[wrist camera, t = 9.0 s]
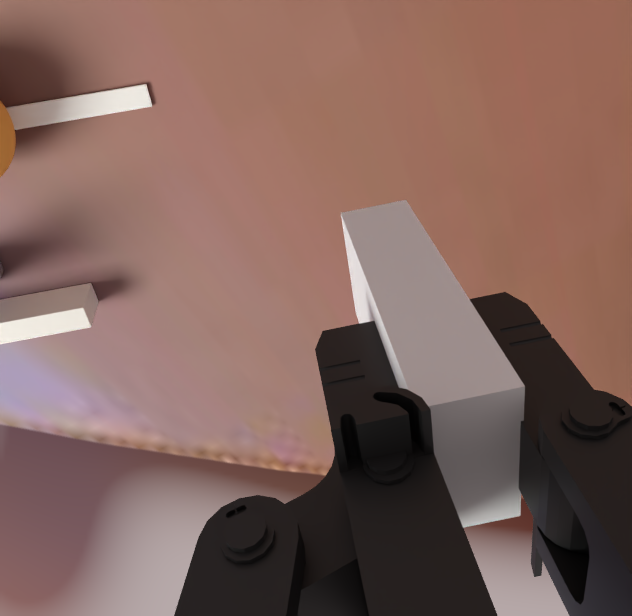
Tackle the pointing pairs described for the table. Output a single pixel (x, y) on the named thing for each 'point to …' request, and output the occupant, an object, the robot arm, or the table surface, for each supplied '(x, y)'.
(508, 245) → the table surface
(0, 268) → the pin grey
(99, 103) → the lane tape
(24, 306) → the lane rail
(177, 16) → the table surface
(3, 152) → the ball
